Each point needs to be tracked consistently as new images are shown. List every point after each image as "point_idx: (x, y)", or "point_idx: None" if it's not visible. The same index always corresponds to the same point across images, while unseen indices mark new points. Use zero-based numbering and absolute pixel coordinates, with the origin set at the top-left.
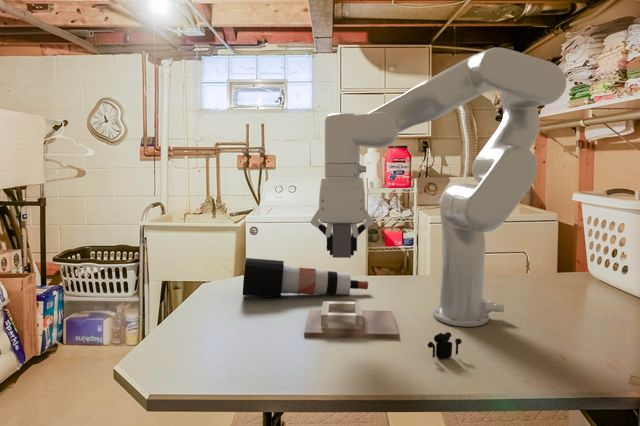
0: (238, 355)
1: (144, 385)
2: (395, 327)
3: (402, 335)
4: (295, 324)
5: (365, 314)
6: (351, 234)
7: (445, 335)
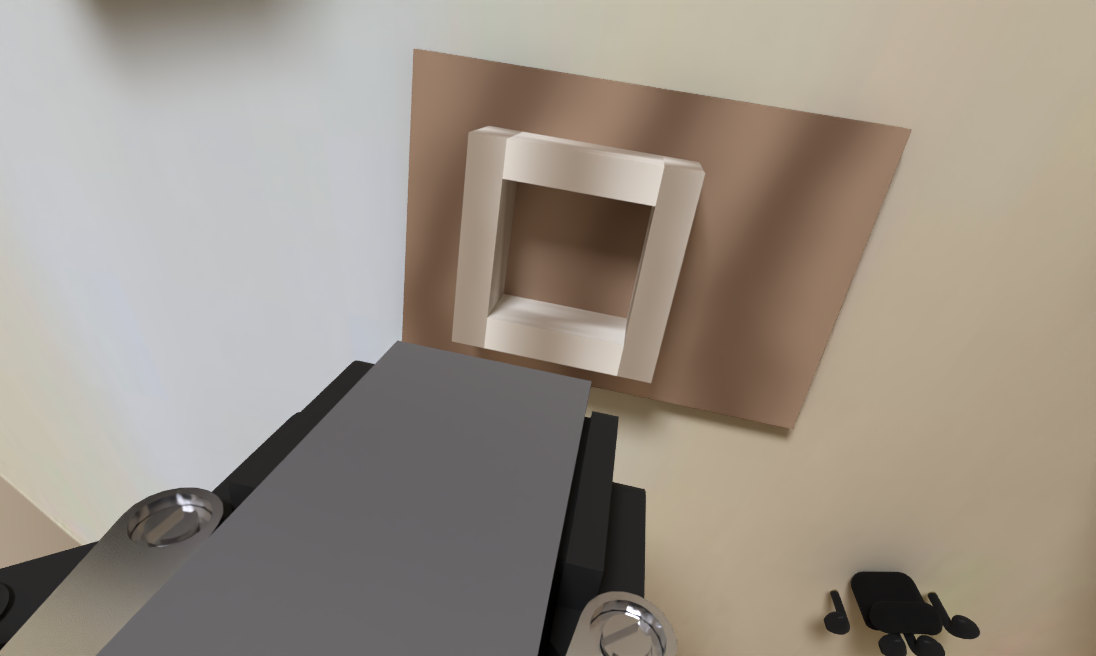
0: (220, 432)
1: (69, 527)
2: (812, 364)
3: (822, 391)
4: (364, 199)
5: (722, 171)
6: (552, 624)
7: (916, 648)
